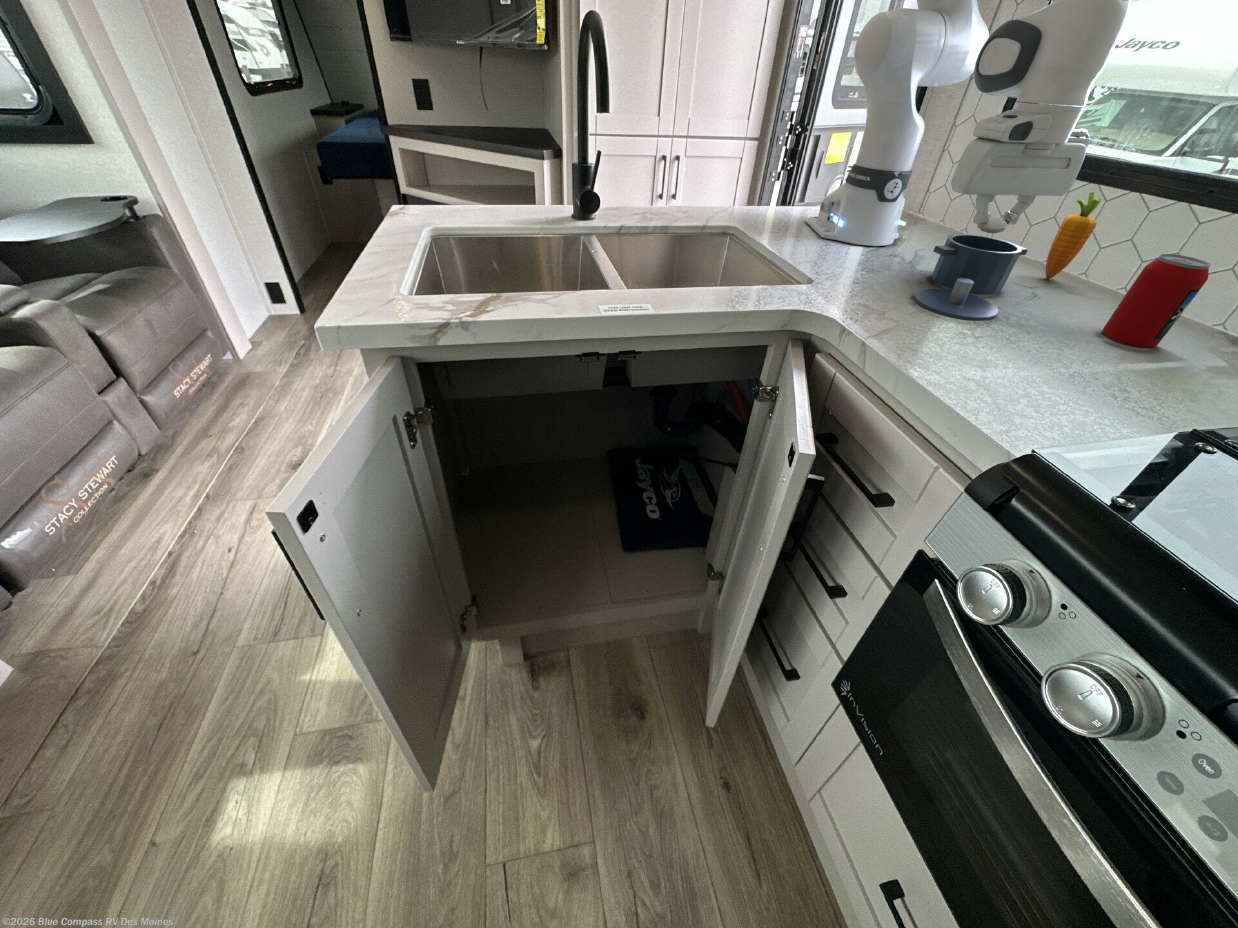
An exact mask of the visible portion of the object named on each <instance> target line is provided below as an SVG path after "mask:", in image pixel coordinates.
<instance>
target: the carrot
mask: <svg viewBox="0 0 1238 928" xmlns="http://www.w3.org/2000/svg"><path fill="white" fill-rule="evenodd" d="M1095 197H1096V192H1095V191H1091V192H1089V193H1088V197H1087V198H1088V199H1087V203H1085V201H1084V200H1083V199H1082V198H1077V200H1076V202H1077V203H1078V204H1079V207H1080V213H1079V214H1070V215H1068V216H1066V217H1065V218H1063V219H1064V220H1063V221H1062V223H1061V225H1060V226H1059V228H1058V230H1057V232H1056V235H1055V237H1054V238H1053V240H1052V243H1051V246H1050V249H1049V251H1048V255H1047V258H1046V263H1045V277H1046V279H1047V280H1050V279H1052V278H1054V277H1055V276H1057V275H1058V274H1060V273H1061V272H1062V271H1063V270H1064V269H1065V268H1066V267H1067V266H1068V265H1070V264H1071V262H1072V261H1073V260H1074V259H1075V258H1076V256H1077V255H1078V254H1079V252H1080V251H1081V250H1082V248H1083V247H1084V246H1085V244H1086V243H1087V241H1088V240H1089V238H1090V236H1091V235H1092V233H1093V231H1094V230H1095V229H1096V226H1097V224H1098V223H1097V220H1096V219H1095V218H1094V217H1093V216H1091V215H1090V214H1092V213H1093V211H1095V209H1096V208H1097V207H1098V206H1099V205H1100V203H1101V202H1102V200H1103V199H1102V197H1097V198H1095Z"/></svg>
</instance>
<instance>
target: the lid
mask: <svg viewBox="0 0 1238 928" xmlns="http://www.w3.org/2000/svg"><path fill="white" fill-rule="evenodd" d="M973 284H974V282H973V281H972V280H969V279H965V278H958V279H957V281H956V283H955V285H954V287H953V289H948V288H947V289H945V288H923V289H919V290H917V291H916V292H914V296H913V300H914V301H915V303H916V304H918V305H919V306H920V307H922V308H924V309H926V310H929V311H931V312H933V313H937V314H939V315H943V316H947V317H950V318H956V319H961V320H967V321H968V320H969V321H987V320H992V319H995V318H996V317H997V316H998V314H999V308H998V307H997V306H996V305H995V304H994V303H992V302H990V301H989V300H986V299H985V298H982V297H980V296H977V295H975V294H972V293H969V292H970V290H971V288H972V286H973Z"/></svg>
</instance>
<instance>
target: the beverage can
mask: <svg viewBox="0 0 1238 928" xmlns="http://www.w3.org/2000/svg"><path fill="white" fill-rule="evenodd" d="M1210 267H1211V263H1209V262H1207V261H1206V260H1202V259H1199V258H1196V257H1192V256H1188V255H1187V256H1186V255H1181V254H1173V253H1161V254H1160V255H1159V256H1157V258H1155V259H1153V260H1152V261H1151V262H1149V263H1147V264H1146V265H1145V266H1144V267H1143V269H1142V270H1141V272H1140V273H1139V274H1138V276H1137V278H1136V279H1135V280H1134V282H1133V283H1132V285H1131V286H1130V288H1129V289H1128V290H1127V292H1126V294H1125V295H1124V296H1123V298H1122V300H1121V301H1120V302H1119V304H1118V305H1117V307H1116V309H1115V310H1114V312H1113V313H1112V314H1111V315H1110V317H1109V319H1108V320H1107V322H1106V324H1105V325H1104V326H1103V328H1102V333H1103V335H1104V336H1105V337H1107V338H1109V339H1110V340H1112V341H1114V342H1117V343H1120V344H1123V345H1127V346H1131V347H1136V348H1143V349H1144V348H1145V349H1149V348H1154V347H1157V346H1158V345H1159V344H1160V342H1161V341H1162V340H1163V339H1164V338H1165V336H1166V335H1167V334H1168V333H1169V331H1170V330H1171V329H1172V327H1173V326H1174V325H1175V324H1176V322H1177V321H1178V320H1179V318H1180V317H1181V315H1182V314H1183V313H1184V312H1185V310H1186V309H1187V308H1188V306H1189V305H1190V304H1191V303H1192V301H1193V300H1194V298H1195V297H1196V296H1197V295H1198V293H1199V292H1200V291H1201V289H1202V288H1203V286H1204V285H1205V284H1206V283H1207V281H1208V280H1209V273H1210V272H1209V271H1210V269H1209V268H1210Z"/></svg>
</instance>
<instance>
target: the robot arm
mask: <svg viewBox="0 0 1238 928" xmlns="http://www.w3.org/2000/svg"><path fill="white" fill-rule="evenodd" d="M916 4H917V8H906V7H901V8H896V9H890V10H886V11H882V12H879V13H876V14H875V15H873V16H872V17H871V18H870V19H869V20H868V21H867V23H866V24H864V26H863V28H862V29H861V31H860V33H859V35H858V36H857V40H856V42H855V45H854V46H855V47H854V50H853V65H854V66H853V67H854V70H855V72H856V74H857V76H858V77H859V79H860V81H861V83H862V85H863V88H864V92H865V99H866V120H865V125H864V126H865V127H864V130H863V133H862V134H863V135H862V138H861V142H860V146H859V149H858V154H857V158H856V160H855V163H854V164H852V165H848V166H847V168H850V169H848V170H846V172H847V173H848V174H847V175H846V178H845V179H844V183H843V184H842V185H840V186H839V187H837V188H836V189H835V190H833V191H832V192H831V193H829V194H827V195H826V196H825V197H824V198H823V200H822V201H821V203H820V207H819V212H818V215H817V216H810V217H807V219H806V221H805V223H806V224H808V226H810V227H811V228H812V229H813V231H814V232H816V234H818V235H819V236H820V237H821V238H823V239H827V240H833V241H839V242H844V243H848V244H854V245H860V246H869V247H870V246H871V247H884V246H891V245H892V244H894V241H895V240H898V239H899V236H900V233H899V232H897V231H898V229H899V228H898V227H899V225H901V226H903V227H905V226H906V224H907V222H905V221H903V220H901V217H902V214H903V209H904V205H905V203H906V200H905V196H904V191H905V190H907V189H908V185H909V184H910V182H911V178H912V173H913V170H912V167H913V164H914V162H915V159H916V156H917V153H918V150H919V147H920V144H921V142H922V139H923V137H924V134H925V129H926V128H925V127H926V126H925V121H924V118H923V117H922V115H921V114H920V113H919V112H918V110H917V106H916V105H917V104H916V96H917V89H918V87H927V88H928V87H930V88H939V87H944V86H945V87H946V86H950V85H954V84H958V83H961V82H964V81H965V80H966V79H968V78H969V77H970V76H972V75H973V80H974V84H975V87H976V89H977V90H978V91H980V93H983V94H986V95H989V96H992V97H993V96H994V97H1006V98H1010V99H1011V98H1013V99H1016V100H1015V102H1014V105H1013V107H1012V109H1009V110H1006V111H1004V112H1001V113H998V114H995V115H993V116H990V117H986V118H982V119H981V120H979V121H978V122H977V123H976V124H975V126H974V127H973V132H972V135H973V136H974V137H976V138H974V139H972V140H971V141H970V142H969V143H968V144H967V145H966V147H965V148H964V150H963V152H962V154H961V156H960V158H959V160H958V163H957V165H956V167H955V169H954V172H953V175H952V178H951V180H950V181H951V182H950V187H951V190H952V191H953V192H955V193H957V194H962V195H966V196H967V195H970V196H973V195H975V196H976V198H975V210H976V212H975V214H974V217H973V219H972V223H973V224H975V225H978V224H987V223H988V221H989V218H990V217H992V215H993V213H992V212H989V204H990V203H992V202H993V201H994V199H995V197H996V196H1017V198H1016V201H1017V202H1016V203H1015V204H1014V206H1012V207H1011V208H1010V210H1008V211H1007V210H1006V211H1004V214H1003V217H1002V219H1003V220H1004V221H1005V222H1007V226H1008V225H1012V226H1013V225H1016V224H1017V223H1018V221H1019V219H1020V216H1021V215H1022V214H1023V213H1024V212H1025V211H1026V210H1028V208H1029V207H1030V206H1031V205H1033V203H1034V201H1036V200H1035V199H1036V198H1037V197H1063V196H1064V195H1065V194H1067V193H1068V192H1069V191H1070V190H1071V189H1072V187H1073V185H1074V184H1075V182H1076V179H1077V177H1078V175H1079V172H1080V170H1081V167H1082V166H1083V163H1084V160H1085V157H1086V153H1087V149H1088V147H1089V144H1090V142H1091V138H1090V134H1089V132H1088V130H1087V129H1085V128H1078V129H1076V125H1077V123H1078V121H1079V119H1080V117H1081V115H1082V113H1083V111H1084V109H1085V107H1086V105H1087V102H1088V98H1089V94H1090V90H1091V88H1092V87H1093V85H1094V83H1095V81H1096V80H1097V78H1098V77H1099V76H1100V75H1101V73H1102V72H1103V71H1104V69H1105V68H1106V65H1107V63H1108V62H1109V60H1110V57H1111V56H1112V53H1113V52H1114V49H1115V47H1116V45H1117V43H1118V41H1119V39H1120V36H1121V34H1122V32H1123V31H1124V30H1123V29H1124V27H1125V24H1126V22H1127V19H1128V16H1129V13H1130V9H1131V5H1132V0H1050V4H1048V5H1046V6H1044V7H1042V8H1041V9H1038V10H1036V11H1033V12H1032V13H1029V14H1027V15H1024V16H1021V17H1018V18H1016V19H1009V20H1007V21H1006V22H1004V23H1002V24H1001V25H999V26H998V27H997V28H996V29H995V30H994V31H993V32H992V33H990V31H989V29H988V26H987V24H986V22H985V21H984V19H983V18H982V15H981V12H980V8H979V5H978V0H916Z"/></svg>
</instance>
